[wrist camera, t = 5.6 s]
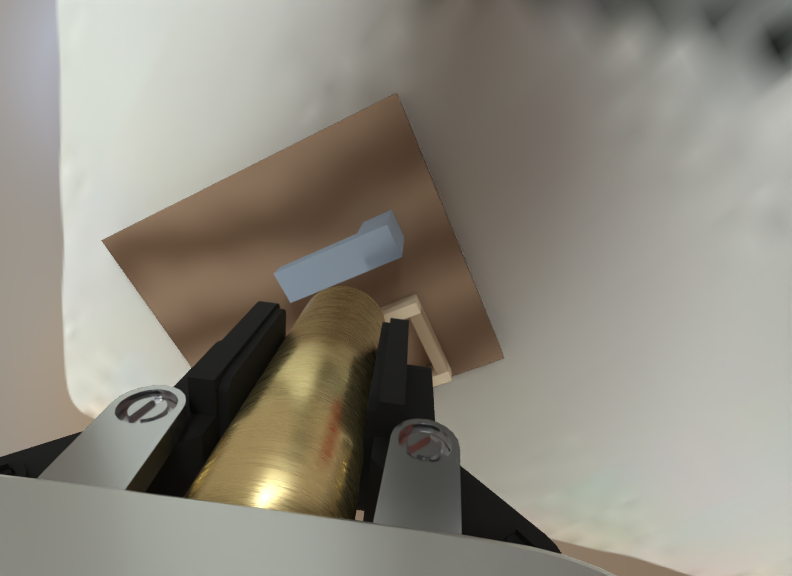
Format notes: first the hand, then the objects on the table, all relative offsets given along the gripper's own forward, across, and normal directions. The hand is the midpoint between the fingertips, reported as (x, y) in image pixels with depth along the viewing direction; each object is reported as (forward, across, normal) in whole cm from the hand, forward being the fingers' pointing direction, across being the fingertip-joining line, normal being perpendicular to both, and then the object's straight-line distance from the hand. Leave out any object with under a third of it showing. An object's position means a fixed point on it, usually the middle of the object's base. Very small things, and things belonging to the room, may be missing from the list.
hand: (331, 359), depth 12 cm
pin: (+2, 0, 0) cm, 2 cm away
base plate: (+18, +4, +6) cm, 19 cm away
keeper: (+16, +2, +1) cm, 16 cm away
